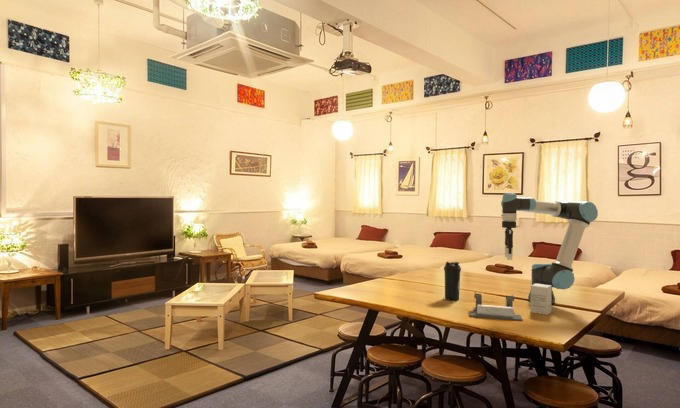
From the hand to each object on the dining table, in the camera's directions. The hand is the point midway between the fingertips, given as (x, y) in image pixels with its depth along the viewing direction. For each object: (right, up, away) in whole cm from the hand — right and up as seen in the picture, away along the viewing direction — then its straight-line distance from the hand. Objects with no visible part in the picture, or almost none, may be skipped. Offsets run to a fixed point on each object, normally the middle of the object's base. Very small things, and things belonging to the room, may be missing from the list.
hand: (508, 258), depth 249 cm
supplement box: (+15, -29, -6) cm, 34 cm away
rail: (-14, -28, -17) cm, 35 cm away
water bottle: (-26, -28, +23) cm, 45 cm away
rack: (-10, -29, -5) cm, 31 cm away
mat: (-14, -29, -17) cm, 36 cm away
